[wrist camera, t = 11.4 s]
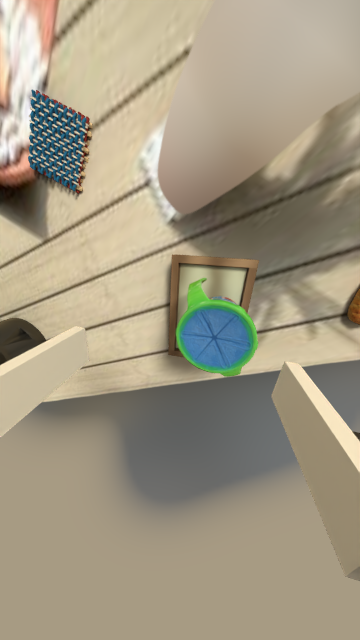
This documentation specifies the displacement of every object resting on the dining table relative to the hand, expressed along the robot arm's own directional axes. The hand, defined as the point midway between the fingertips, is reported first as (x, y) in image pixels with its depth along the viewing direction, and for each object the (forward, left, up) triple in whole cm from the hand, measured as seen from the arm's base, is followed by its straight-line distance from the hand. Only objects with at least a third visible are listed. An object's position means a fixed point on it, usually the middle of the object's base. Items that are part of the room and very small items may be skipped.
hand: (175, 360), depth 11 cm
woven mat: (-26, +22, -25) cm, 42 cm away
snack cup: (+4, -4, -21) cm, 22 cm away
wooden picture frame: (+2, -4, -24) cm, 24 cm away
